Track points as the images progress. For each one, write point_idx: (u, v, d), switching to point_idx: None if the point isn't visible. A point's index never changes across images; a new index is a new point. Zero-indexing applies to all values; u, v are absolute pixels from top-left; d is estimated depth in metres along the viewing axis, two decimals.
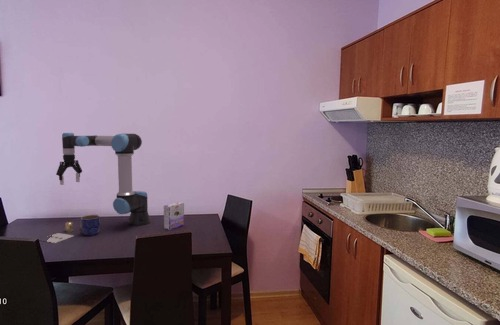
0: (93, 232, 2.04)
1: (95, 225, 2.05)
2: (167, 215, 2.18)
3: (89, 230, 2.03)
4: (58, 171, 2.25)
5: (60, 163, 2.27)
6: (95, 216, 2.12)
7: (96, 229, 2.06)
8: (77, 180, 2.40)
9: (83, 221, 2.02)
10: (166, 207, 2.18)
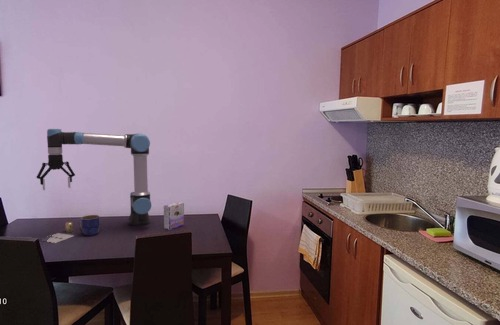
0: (93, 232, 2.04)
1: (95, 225, 2.05)
2: (167, 215, 2.18)
3: (89, 230, 2.03)
4: (38, 174, 1.91)
5: (42, 164, 1.92)
6: (95, 216, 2.12)
7: (96, 229, 2.06)
8: (68, 185, 2.02)
9: (83, 221, 2.02)
10: (166, 207, 2.18)
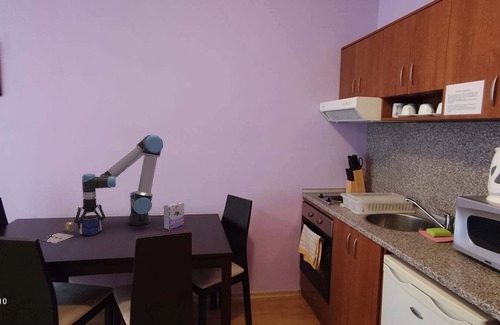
0: (93, 232, 2.04)
1: (95, 225, 2.05)
2: (167, 215, 2.18)
3: (89, 230, 2.03)
4: (75, 219, 2.01)
5: None
6: (95, 216, 2.12)
7: (96, 229, 2.06)
8: None
9: (83, 221, 2.02)
10: (166, 207, 2.18)
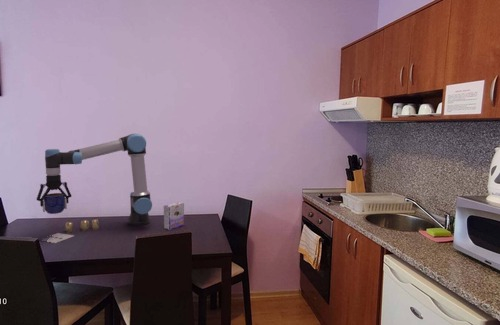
0: (57, 210, 1.94)
1: (59, 203, 1.94)
2: (167, 215, 2.18)
3: (53, 208, 1.92)
4: (37, 196, 1.91)
5: (40, 186, 1.92)
6: (60, 194, 2.01)
7: (60, 207, 1.95)
8: (65, 207, 2.01)
9: (46, 198, 1.91)
10: (166, 207, 2.18)
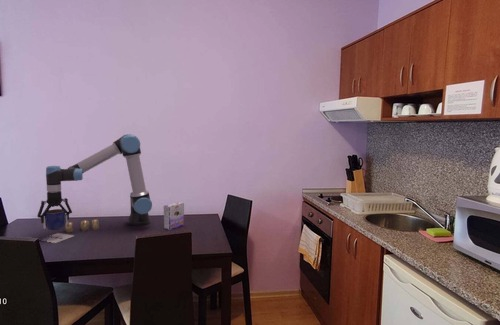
0: (57, 227, 1.95)
1: (60, 219, 1.95)
2: (167, 215, 2.18)
3: (53, 225, 1.93)
4: (38, 213, 1.92)
5: (41, 203, 1.93)
6: (61, 210, 2.02)
7: (61, 224, 1.96)
8: (65, 223, 2.02)
9: (47, 215, 1.92)
10: (166, 207, 2.18)
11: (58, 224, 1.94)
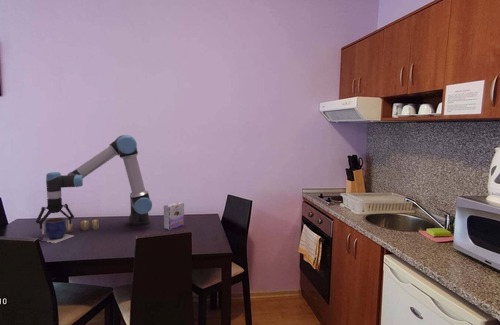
0: (58, 236, 1.95)
1: (60, 228, 1.95)
2: (167, 215, 2.18)
3: (54, 234, 1.94)
4: (37, 218, 1.91)
5: (41, 209, 1.93)
6: (61, 219, 2.03)
7: (61, 233, 1.96)
8: (67, 227, 2.03)
9: (47, 224, 1.93)
10: (166, 207, 2.18)
11: (59, 233, 1.95)
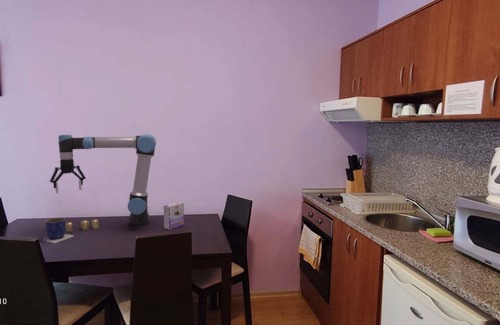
0: (58, 236, 1.95)
1: (60, 228, 1.95)
2: (167, 215, 2.18)
3: (54, 234, 1.94)
4: (51, 178, 2.01)
5: (55, 169, 2.02)
6: (61, 219, 2.02)
7: (61, 233, 1.96)
8: (79, 188, 2.12)
9: (47, 224, 1.93)
10: (166, 207, 2.18)
11: (59, 233, 1.95)
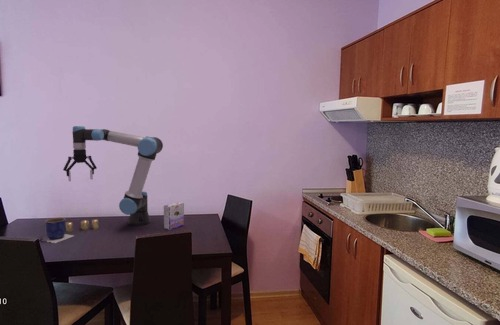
0: (58, 236, 1.95)
1: (60, 228, 1.95)
2: (167, 215, 2.18)
3: (54, 234, 1.94)
4: None
5: (68, 158, 2.14)
6: (61, 219, 2.02)
7: (61, 233, 1.96)
8: (90, 177, 2.24)
9: (47, 224, 1.93)
10: (166, 207, 2.18)
11: (59, 233, 1.95)
